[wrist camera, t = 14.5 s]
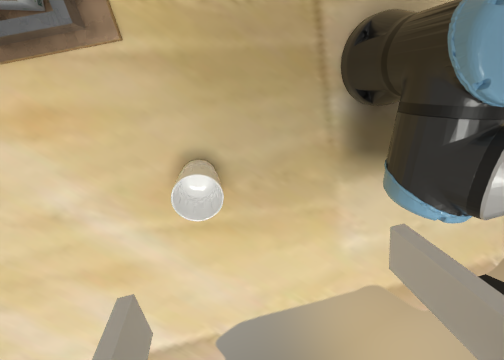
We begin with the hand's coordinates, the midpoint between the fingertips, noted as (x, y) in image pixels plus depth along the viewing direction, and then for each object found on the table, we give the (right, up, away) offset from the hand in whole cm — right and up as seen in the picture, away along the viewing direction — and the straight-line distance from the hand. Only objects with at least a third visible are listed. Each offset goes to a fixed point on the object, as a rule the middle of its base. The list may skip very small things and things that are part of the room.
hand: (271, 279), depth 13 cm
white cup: (-11, +6, +35) cm, 37 cm away
